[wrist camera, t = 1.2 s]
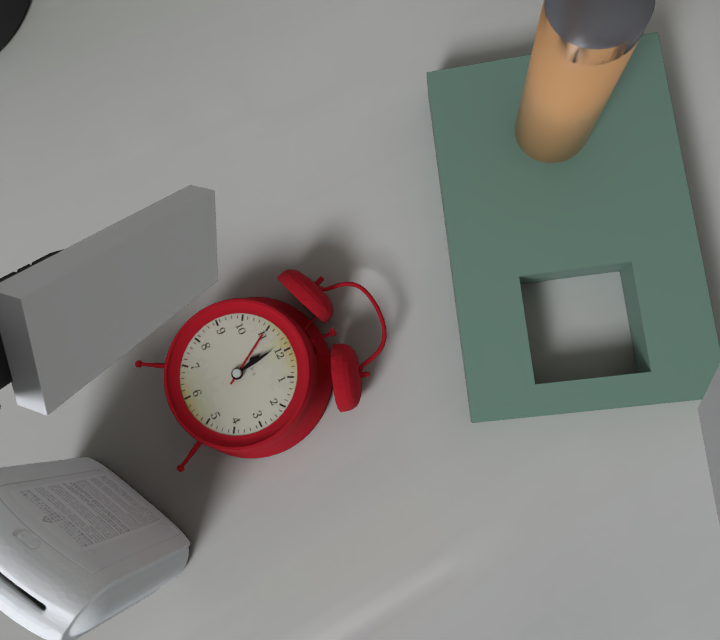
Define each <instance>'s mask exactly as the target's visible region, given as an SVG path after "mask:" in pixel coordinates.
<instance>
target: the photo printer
mask: <svg viewBox="0 0 720 640" xmlns="http://www.w3.org/2000/svg"><path fill="white" fill-rule="evenodd" d="M189 546H190V542H189V540H188V539H187V537H186V536H185V535H184V534H183V533H182V532H181V530H180V529H179V528H178V527H177V526H176V525H174V524H173V523H172V522H171V521H170V520H169V519H168V518H167V517H166V516H165V515H163V514H162V513H161V512H160V511H159V510H158V509H156V508H155V507H154V506H153V505H152V504H151V503H149V502H148V501H147V500H146V499H145V498H143V497H142V496H141V495H140V494H139V493H138V492H136V491H135V490H134V489H133V488H131V487H130V486H129V485H128V484H127V483H126V482H124V481H123V480H122V479H121V478H120V477H118V476H117V475H116V474H114V473H113V472H112V471H110V470H109V469H108V468H106V467H105V466H104V465H102V464H101V463H99V462H97V461H95V460H93V459H91V458H88V457H80V458H73V459H66V460H58V461H50V462H42V463H34V464H26V465H18V466H10V467H2V468H0V610H1V611H2V612H3V613H5V614H6V615H7V616H9V617H10V618H11V619H13V620H14V621H15V622H17V623H18V624H20V625H22V626H23V627H25V628H26V629H28V630H29V631H31V632H33V633H34V634H36V635H38V636H40V637H42V638H44V639H46V640H76V639H78V638H80V637H81V636H83V635H85V634H86V633H88V632H90V631H91V630H93V629H95V628H97V627H98V626H100V625H101V624H103V623H105V622H106V621H108V620H110V619H111V618H113V617H115V616H117V615H118V614H120V613H121V612H123V611H125V610H126V609H128V608H130V607H131V606H133V605H135V604H137V603H138V602H140V601H141V600H143V599H145V598H146V597H148V596H149V595H151V594H153V593H154V592H156V591H157V590H158V589H159V588H160V587H162V586H163V585H165V584H167V583H168V582H170V581H172V580H173V579H175V578H176V577H177V576H178V575H179V574H180V573H181V572H182V571H183V569H184V568H185V566H186V563H187V561H188V556H189V548H188V547H189Z"/></svg>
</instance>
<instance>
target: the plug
mask: <svg viewBox="0 0 720 640" xmlns="http://www.w3.org/2000/svg"><path fill="white" fill-rule="evenodd" d="M654 5H655V0H544V2H543V6H542V11H541V15H540V19H539V23H538V28H537V32H536V36H535V41H534V45H533V49H532V53H531V58H530V62H529V66H528V71H527V75H526V79H525V83H524V88H523V92H522V96H521V101H520V105H519V109H518V113H517V118H516V122H515V137H516V140H517V143H518V144H519V146H520V148H521V149H522V150H523V151H524V152H525V153H526V154H527V155H528V156H530V157H531V158H533V159H535V160H537V161H541V162H546V163H557V162H562V161H565V160H568V159H570V158H572V157H573V156H575V155H576V154H577V153H578V152H579V151H580V150H581V149H582V148H583V147H584V145H585V143H586V142H587V140H588V138H589V136H590V134H591V132H592V130H593V128H594V126H595V124H596V122H597V120H598V118H599V116H600V114H601V113H602V111H603V109H604V107H605V105H606V103H607V101H608V99H609V97H610V95H611V93H612V91H613V89H614V87H615V86H616V84H617V82H618V80H619V78H620V76H621V74H622V72H623V70H624V68H625V66H626V64H627V62H628V60H629V59H630V57H631V55H632V53H633V51H634V49H635V47H636V45H637V43H638V41H639V39H640V37H641V35H642V33H643V31H644V30H645V28H646V26H647V24H648V22H649V20H650V18H651V16H652V13H653V10H654Z"/></svg>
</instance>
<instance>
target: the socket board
mask: <svg viewBox="0 0 720 640" xmlns="http://www.w3.org/2000/svg"><path fill="white" fill-rule="evenodd" d="M530 58H531V54H530V55H524V56H518V57H512V58H507V59H501V60H495V61H490V62H484V63H478V64H472V65H467V66H461V67H455V68H449V69H444V70H438V71H432V72H427V85H428V96H429V104H430V111H431V119H432V127H433V134H434V142H435V150H436V157H437V165H438V173H439V180H440V188H441V195H442V203H443V211H444V218H445V226H446V234H447V241H448V249H449V256H450V264H451V272H452V279H453V287H454V295H455V302H456V310H457V318H458V325H459V333H460V340H461V348H462V356H463V363H464V371H465V379H466V386H467V394H468V401H469V409H470V417H471V422H472V423H476V422H486V421H495V420H505V419H515V418H525V417H534V416H544V415H554V414H564V413H573V412H583V411H593V410H603V409H612V408H622V407H632V406H642V405H651V404H661V403H671V402H681V401H690V400H700V399H703V397H704V395H705V393H706V391H707V389H708V387H709V384H710V382H711V380H712V378H713V376H714V374H715V372H716V370H717V368H718V366H719V364H720V347H719V342H718V337H717V332H716V327H715V322H714V317H713V312H712V306H711V301H710V296H709V291H708V286H707V281H706V276H705V271H704V266H703V261H702V255H701V250H700V245H699V240H698V235H697V230H696V225H695V220H694V215H693V210H692V205H691V199H690V194H689V189H688V184H687V179H686V174H685V169H684V164H683V159H682V154H681V148H680V143H679V138H678V133H677V128H676V123H675V118H674V113H673V108H672V103H671V98H670V92H669V87H668V82H667V77H666V72H665V67H664V62H663V57H662V52H661V47H660V41H659V36H658V32H656V33H650V34H644V35H641V37H640V39H639V41H638V43H637V45H636V47H635V49H634V51H633V53H632V55H631V57H630V59H629V60H628V62H627V64H626V66H625V68H624V70H623V72H622V74H621V76H620V78H619V80H618V82H617V84H616V86H615V87H614V89H613V91H612V93H611V95H610V97H609V99H608V101H607V103H606V105H605V107H604V109H603V111H602V113H601V114H600V116H599V118H598V120H597V122H596V124H595V126H594V128H593V130H592V132H591V134H590V136H589V138H588V140H587V142H586V143H585V145H584V147H583V148H582V149H581V150H580V151H579V152H578V153H577V154H576V155H575V156H573V157H572V158H570V159H568V160H565V161H562V162H557V163H546V162H541V161H537V160H535V159H533V158H531V157H530V156H528V155H527V154H526V153H525V152H524V151H523V150H522V149H521V148H520V146H519V144H518V143H517V140H516V137H515V122H516V118H517V113H518V109H519V105H520V101H521V96H522V92H523V88H524V83H525V79H526V75H527V71H528V66H529V62H530ZM615 271H620V274H621V280H622V286H623V292H624V297H625V303H626V309H627V315H628V320H629V326H630V332H631V338H632V343H633V349H634V355H635V360H636V366H637V372H638V373H636V374H626V375H617V376H608V377H599V378H590V379H580V380H571V381H562V382H553V383H544V384H535V380H534V374H533V367H532V360H531V353H530V347H529V340H528V333H527V326H526V320H525V313H524V306H523V299H522V293H521V286H520V284H523V283H530V282H538V281H546V280H554V279H561V278H569V277H577V276H584V275H592V274H600V273H608V272H615Z"/></svg>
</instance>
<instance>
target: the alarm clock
mask: <svg viewBox="0 0 720 640" xmlns="http://www.w3.org/2000/svg"><path fill="white" fill-rule="evenodd" d="M277 279H278V280H279V281H280V282H281V283H282V284H283V285H284V286H285V287H286V288H287V289H288V290H289V291H290V292H291V293H292V294H293V295H294V296H295V297H296V298H297V299H298V300H299V301H300V302H301V303H302V304H303V305H304V306H306V307H307V308H308V309H309V310H310V311H311V312H312V313H313V314H314V315H315V317H314V318H313V319H312V320H310V319H309V318H308V317H307V316H305V315H304V314H303V313H302V312H300V311H299V310H297V309H296V308H294V307H292V306H290V305H289V304H286V303H284V302H282V301H278V300H275V299H270V298H264V297H249V298H234V299H227V300H223V301H220V302H217V303H214V304H212V305H210V306H208V307H206V308H204V309H202V310H200V311H199V312H198V313H196V314H195V315H194V316H192V317H191V318H190V319H189V320H188V321H187V322H186V323H185V324H184V325H183V326H182V327H181V329H180V330H179V332H178V333H177V334H176V336H175V338H174V340H173V342H172V343H171V346H170V348H169V351H168V354H167V358H166V362H165V363H142V361H140V360H138V361H136V363H135V365H136V367H141V366H148V367H155V368H164V387H165V393H166V397H167V401H168V404H169V406H170V409H171V411H172V413H173V414H174V416H175V418H176V420H177V421H178V422H179V424H180V425H181V426H182V427H183V428H184V429H185V430H186V431H187V432H188V433H189V434H190V435H191V436H192V437H193V438H195V439H196V440H198V441H197V443H196V444H195V445H194V447H193V448H192V449H191V451H190V452H189V454H188V456H187V457H186V459H185V460H184V461H183V463H182V464H181V465H178V466H177V470H178V471H179V472H182V471H183V470H184V466H185V464H186V463H187V462H188V461H189V459H190V458H191V457H192V456H193V455H194V454H195V452H196V451H197V450H198V448H199V447H200V446H201V444H202V443H203V444H205V445H206V446H209V447H211V448H214V449H216V450H218V451H221V452H223V453H225V454H228V455H231V456H235V457H241V458H262V457H268V456H272V455H275V454H278V453H281V452H283V451H286V450H288V449H289V448H291V447H293V446H295V445H296V444H298V443H299V442H300V441H302V440H303V439H304V438H305V437H306V436H307V435H308V434H309V433H310V432H311V431H312V430H313V429H314V427H315V426H316V425H317V423H318V422H319V420H320V419H321V417H322V415H323V413H324V411H325V409H326V407H327V404H328V402H329V398H330V394H331V390H332V383H333V390H334V396H335V401H336V404H337V407H338V409H339V411H340V412H344V411H349V410H352V409H354V408H355V407H356V406H357V405H358V403H359V401H360V397H361V391H362V378H363V377H369V376H370V373H369V372H363V373H362V370H363V367H364V366H365V365H367V364H368V363H370V362H371V361H373V360H374V359H375V358H376V357H377V356H378V355H379V353H380V352H381V351H382V349H383V348H384V345H385V342H386V338H387V334H386V325H385V321H384V318H383V315H382V313H381V310H380V308H379V306H378V304H377V303H376V301H375V300H374V298H373V297H372V295H371V294H370V293H369V292H368V291H367V290H366V289H365V288H364V287H362V286H361V285H359V284H357V283H354V282H342V283H338V284H335V285H332V286H329V287H326V288H323V287H321V286H318V285H319V284H320V283H321V282H322V281H323V280H324V278H323V277H320V278H319V279H317V280H316V281H315V282H313V281H312V280H311V279H309V278H308V277H307V276H305V275H304V274H302V273H301V272H299V271H296V270H290V269H289V270H286V271H284V272H282V273H281V274H280V275H279V276H278V277H277ZM342 286H353V287H356V288H358V289H360V290H361V291H362V292H363V293H365V294H366V296H367V297H368V298H369V299H370V301H371V302H372V304H373V306H374V307H375V309H376V311H377V314H378V316H379V318H380V322H381V325H382V333H383V334H382V341H381V344H380V346H379V348H378V349H377V351H376V352H375V353H374V354H373V355H372V356H371V357H369V358H368V359H367V360H366V361H365V362H363V363H362V364H361V365H359V361H358V358H357V355H356V353H355V351H354V350H353V349H352V348H351V346H349V345H347V344H341V343H338V344H333V345H332V348H331V354H330V352H329V349H328V346H327V344H326V342H325V340H324V338H326V337H328V336H330V335H332V336H335V335H336V332H335V330H334V328H331V329H329V330H330V332H328V333H326V334H324V335H322V334H321V333H320V331H319V329H318V328H317V326H316V325H315V324H314V323H313V321H314V320H315V319H316V317H318V318H319V319H320V320H321V321H322V322H323V323H325V324H326V323H327V322H328V321H329V319H330V318H331V316H332V314H333V307H332V304H331V302H330V300H329V298H328V297H327V296H326V294H325V293H324V292H323V291H329V290H332V289H335V288H338V287H342Z"/></svg>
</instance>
